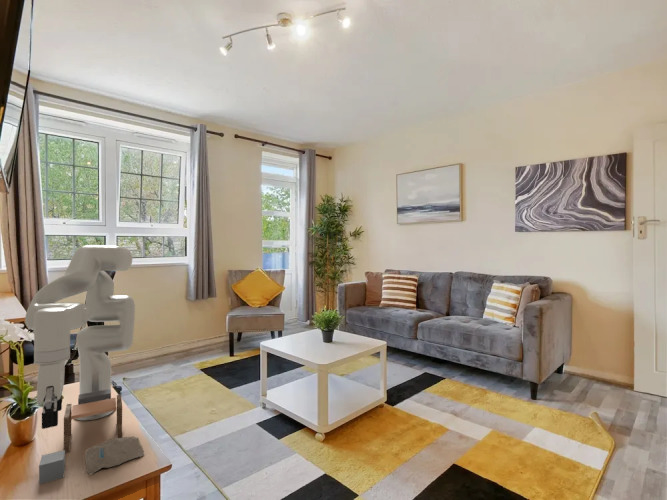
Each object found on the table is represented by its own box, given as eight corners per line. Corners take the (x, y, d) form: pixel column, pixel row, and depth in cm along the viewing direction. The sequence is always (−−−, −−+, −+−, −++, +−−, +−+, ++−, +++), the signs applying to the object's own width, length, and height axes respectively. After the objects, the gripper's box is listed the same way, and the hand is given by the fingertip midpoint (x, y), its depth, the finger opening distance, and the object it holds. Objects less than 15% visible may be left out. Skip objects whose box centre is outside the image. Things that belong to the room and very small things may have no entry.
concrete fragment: (144, 459, 103) (144, 438, 103) (86, 478, 95) (86, 455, 95) (140, 447, 109) (140, 428, 109) (84, 464, 100) (84, 443, 100)
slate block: (41, 473, 96) (41, 455, 96) (65, 467, 99) (65, 449, 99) (39, 484, 92) (39, 465, 92) (63, 477, 94) (63, 459, 94)
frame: (65, 437, 113) (65, 404, 113) (121, 424, 122) (121, 394, 121) (62, 453, 105) (62, 418, 104) (122, 438, 113) (122, 406, 113)
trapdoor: (74, 404, 119) (74, 395, 118) (114, 396, 125) (114, 388, 125) (70, 422, 107) (70, 413, 107) (116, 413, 113) (116, 404, 113)
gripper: (39, 348, 99) (38, 409, 100) (28, 367, 85) (28, 438, 85) (72, 344, 104) (72, 403, 104) (67, 361, 89) (67, 429, 89)
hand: (52, 418), depth 95 cm, fingers open, 9 cm apart
